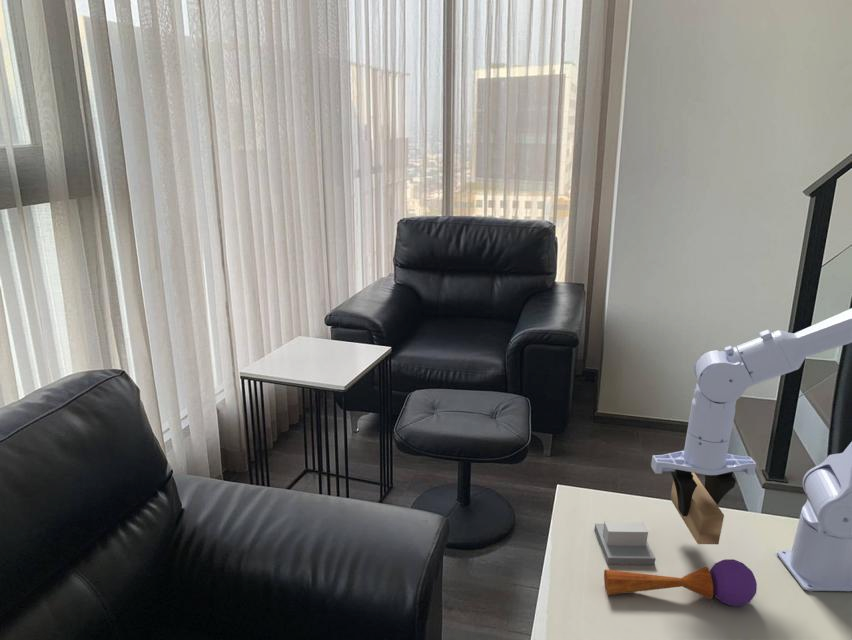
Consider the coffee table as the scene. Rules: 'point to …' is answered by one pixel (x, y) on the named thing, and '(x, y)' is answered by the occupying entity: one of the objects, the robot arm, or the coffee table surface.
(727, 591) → the kendama
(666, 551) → the coffee table surface
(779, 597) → the coffee table surface
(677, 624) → the coffee table surface
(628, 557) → the balance stand
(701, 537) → the oak bar
